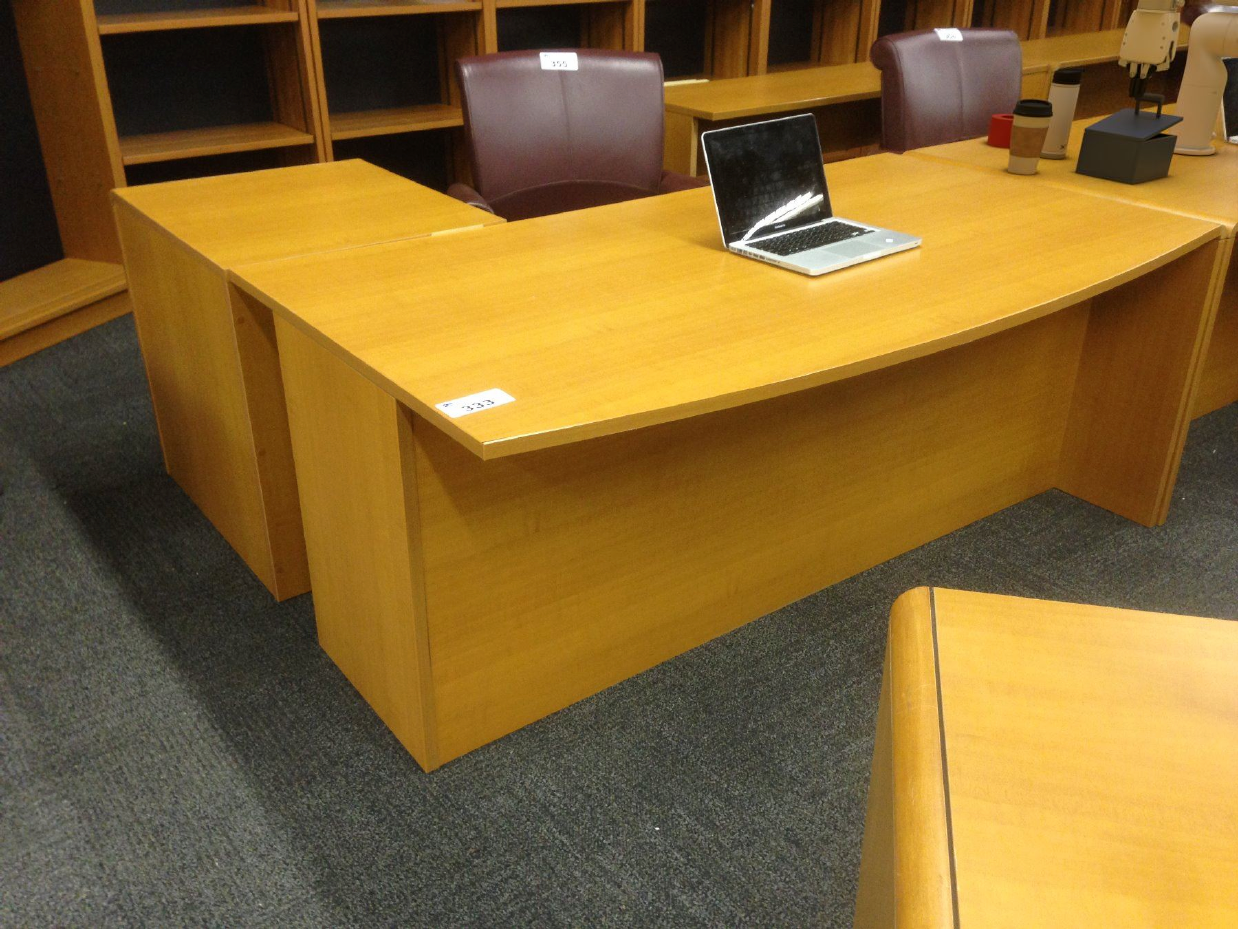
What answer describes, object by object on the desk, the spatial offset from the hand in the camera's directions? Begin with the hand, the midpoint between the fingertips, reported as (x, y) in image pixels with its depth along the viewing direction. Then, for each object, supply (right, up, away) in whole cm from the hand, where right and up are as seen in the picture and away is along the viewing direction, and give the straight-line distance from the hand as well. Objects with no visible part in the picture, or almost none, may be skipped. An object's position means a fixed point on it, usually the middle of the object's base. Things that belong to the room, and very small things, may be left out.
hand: (1135, 96), depth 226 cm
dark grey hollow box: (+1, -14, +9) cm, 17 cm away
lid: (+1, -5, +4) cm, 7 cm away
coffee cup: (-21, -14, +9) cm, 27 cm away
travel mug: (-8, -6, +25) cm, 27 cm away
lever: (-10, 0, +35) cm, 37 cm away
